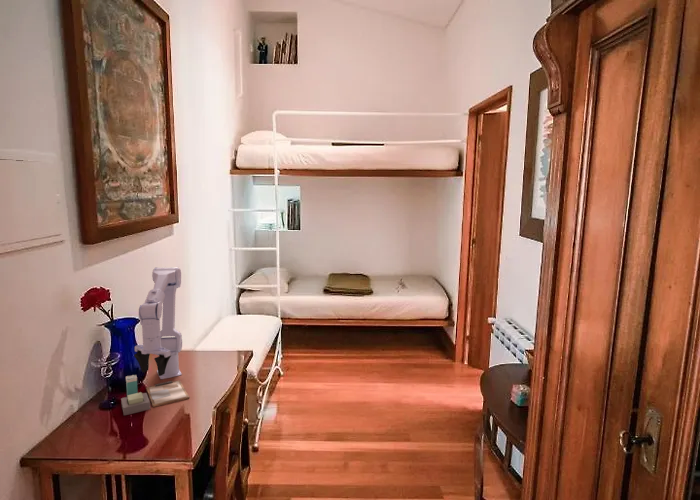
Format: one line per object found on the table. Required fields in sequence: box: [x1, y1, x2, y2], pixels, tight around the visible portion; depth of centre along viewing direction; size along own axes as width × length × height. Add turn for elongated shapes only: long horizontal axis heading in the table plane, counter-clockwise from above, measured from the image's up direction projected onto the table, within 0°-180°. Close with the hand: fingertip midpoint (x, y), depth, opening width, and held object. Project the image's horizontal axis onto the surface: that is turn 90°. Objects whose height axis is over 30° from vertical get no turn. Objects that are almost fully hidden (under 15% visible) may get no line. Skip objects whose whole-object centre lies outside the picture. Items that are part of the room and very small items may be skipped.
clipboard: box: [145, 380, 190, 408], centre depth 155 cm, size 16×12×1 cm
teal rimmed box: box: [125, 374, 139, 396], centre depth 153 cm, size 3×3×7 cm
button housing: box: [120, 392, 151, 416], centre depth 145 cm, size 8×8×3 cm
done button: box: [126, 391, 143, 405], centre depth 145 cm, size 4×4×3 cm
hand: (153, 373), depth 150 cm, fingers open, 7 cm apart
